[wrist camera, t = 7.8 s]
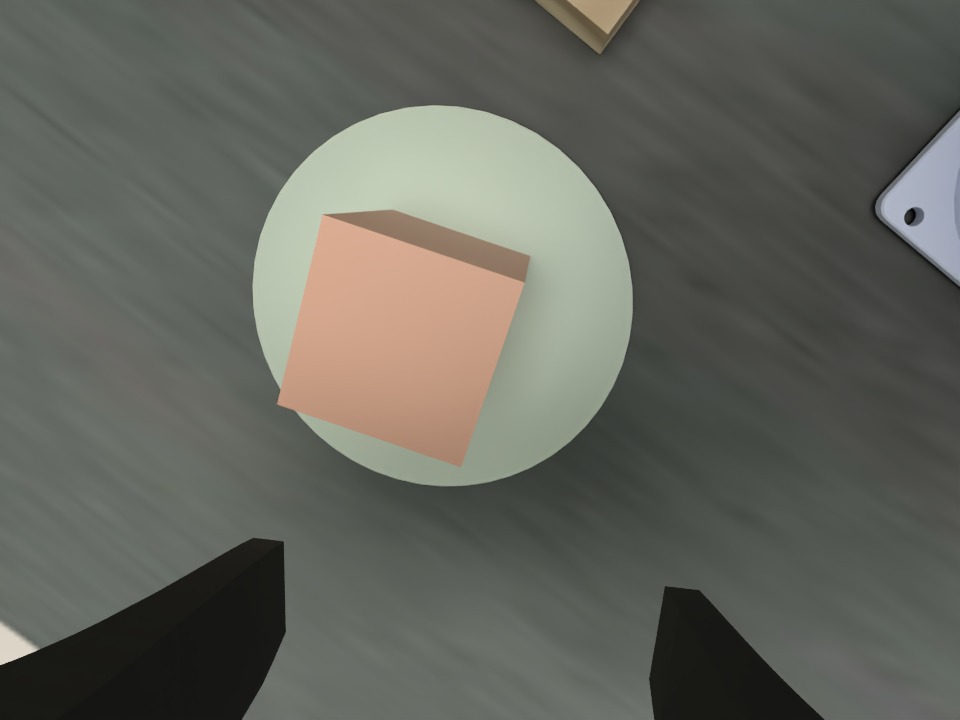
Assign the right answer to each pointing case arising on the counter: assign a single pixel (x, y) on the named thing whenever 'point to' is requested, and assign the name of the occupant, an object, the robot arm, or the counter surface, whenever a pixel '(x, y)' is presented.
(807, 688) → the counter surface
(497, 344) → the terracotta block
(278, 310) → the sage coaster
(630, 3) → the maple pocket holder
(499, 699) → the counter surface
